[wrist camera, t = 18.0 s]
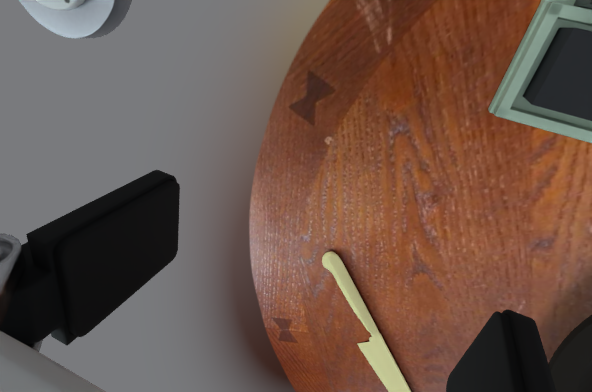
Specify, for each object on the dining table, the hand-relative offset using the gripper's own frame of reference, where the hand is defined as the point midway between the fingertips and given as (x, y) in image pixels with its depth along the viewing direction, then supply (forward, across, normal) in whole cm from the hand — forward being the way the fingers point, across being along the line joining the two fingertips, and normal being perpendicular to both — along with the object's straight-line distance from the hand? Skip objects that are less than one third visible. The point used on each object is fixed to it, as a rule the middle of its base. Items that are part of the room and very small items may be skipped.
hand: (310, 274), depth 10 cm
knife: (+26, -8, +32) cm, 42 cm away
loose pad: (+25, -11, -6) cm, 28 cm away
